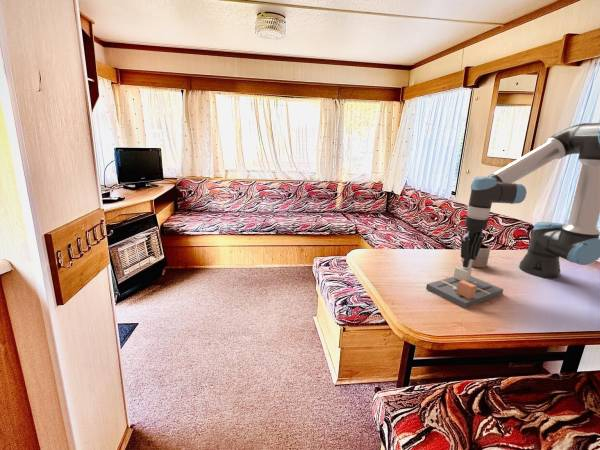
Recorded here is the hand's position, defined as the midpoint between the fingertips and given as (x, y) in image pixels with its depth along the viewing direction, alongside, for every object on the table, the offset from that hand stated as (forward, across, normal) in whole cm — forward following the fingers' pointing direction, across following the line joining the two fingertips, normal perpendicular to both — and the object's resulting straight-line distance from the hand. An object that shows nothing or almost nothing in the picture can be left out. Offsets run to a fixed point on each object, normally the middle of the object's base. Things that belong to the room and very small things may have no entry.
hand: (465, 274), depth 128 cm
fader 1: (+2, +2, 0) cm, 3 cm away
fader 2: (+2, +14, +9) cm, 17 cm away
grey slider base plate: (+4, +7, +5) cm, 9 cm away
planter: (+4, -26, -12) cm, 28 cm away
